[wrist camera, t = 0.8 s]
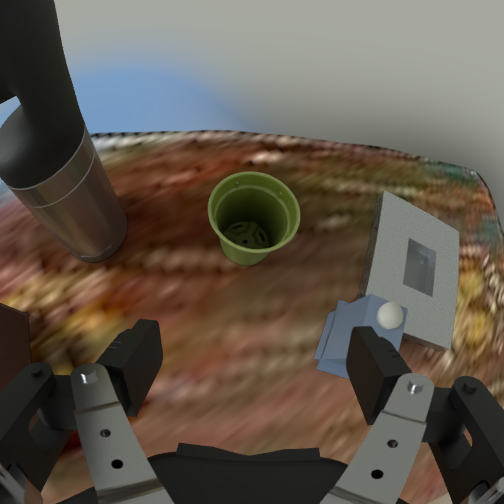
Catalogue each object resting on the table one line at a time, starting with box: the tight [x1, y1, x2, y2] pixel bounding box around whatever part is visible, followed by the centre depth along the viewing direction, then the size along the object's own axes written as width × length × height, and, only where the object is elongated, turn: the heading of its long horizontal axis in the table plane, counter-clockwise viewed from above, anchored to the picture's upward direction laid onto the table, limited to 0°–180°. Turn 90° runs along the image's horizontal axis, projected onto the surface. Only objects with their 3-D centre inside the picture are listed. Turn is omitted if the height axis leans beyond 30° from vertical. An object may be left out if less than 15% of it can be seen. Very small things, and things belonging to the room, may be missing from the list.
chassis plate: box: [356, 190, 459, 351], centre depth 38 cm, size 20×16×2 cm
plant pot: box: [208, 172, 300, 266], centre depth 34 cm, size 9×9×9 cm
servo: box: [314, 293, 408, 379], centre depth 29 cm, size 10×4×12 cm, turn 159°
